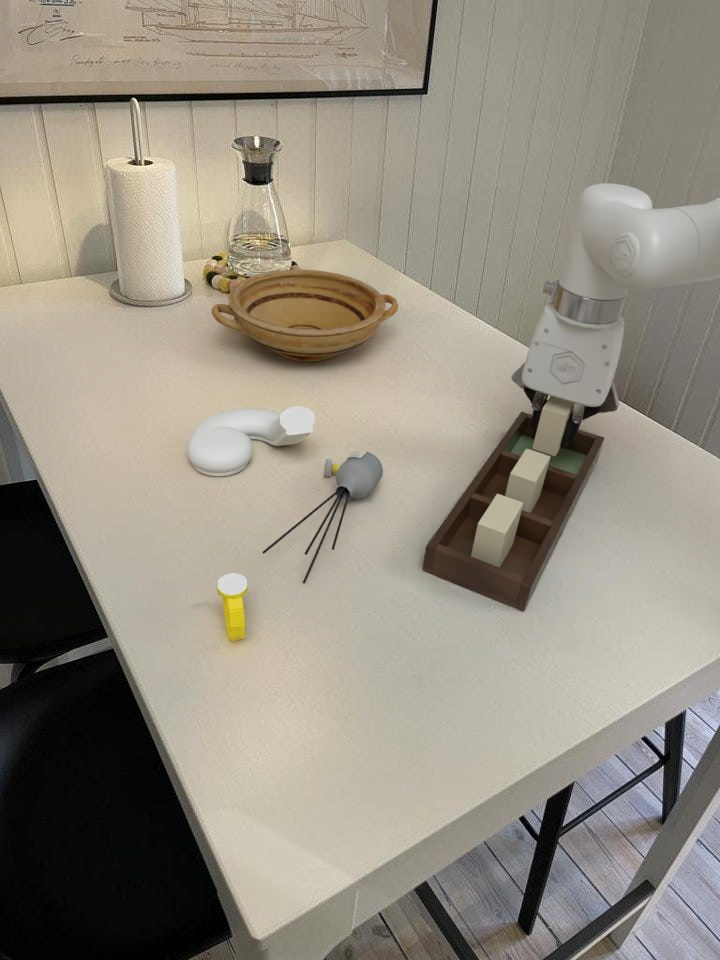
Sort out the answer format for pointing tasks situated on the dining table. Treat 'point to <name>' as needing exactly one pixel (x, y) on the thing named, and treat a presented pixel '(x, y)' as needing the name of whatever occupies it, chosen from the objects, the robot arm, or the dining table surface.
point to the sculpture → (243, 436)
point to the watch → (233, 603)
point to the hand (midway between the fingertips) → (551, 437)
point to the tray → (534, 529)
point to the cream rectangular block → (552, 425)
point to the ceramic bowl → (305, 312)
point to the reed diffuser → (345, 490)
